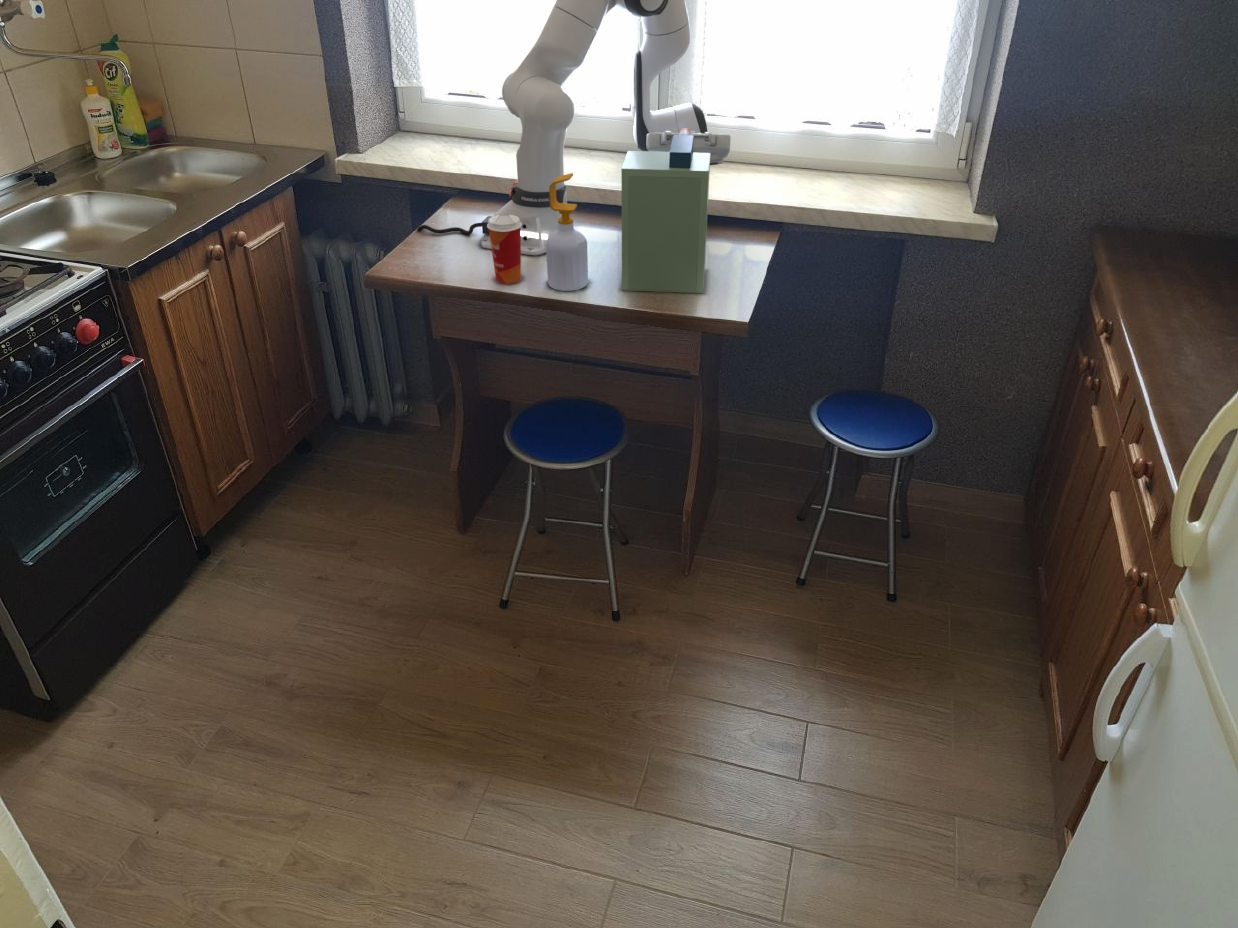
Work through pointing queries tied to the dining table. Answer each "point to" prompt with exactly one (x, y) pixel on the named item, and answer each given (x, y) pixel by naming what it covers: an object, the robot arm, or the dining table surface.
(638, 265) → the stand
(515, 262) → the paper cup
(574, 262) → the soap bottle
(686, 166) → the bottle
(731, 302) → the dining table surface
